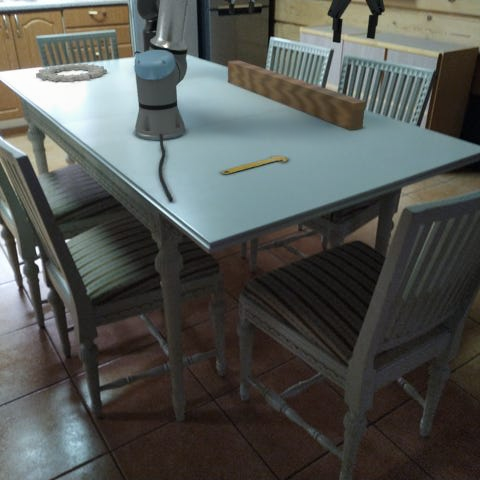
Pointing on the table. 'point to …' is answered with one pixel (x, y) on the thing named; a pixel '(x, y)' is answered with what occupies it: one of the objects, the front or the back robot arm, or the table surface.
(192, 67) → the table surface
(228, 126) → the table surface
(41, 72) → the decorative wreath
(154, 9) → the back robot arm
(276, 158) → the bottle opener
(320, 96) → the post
